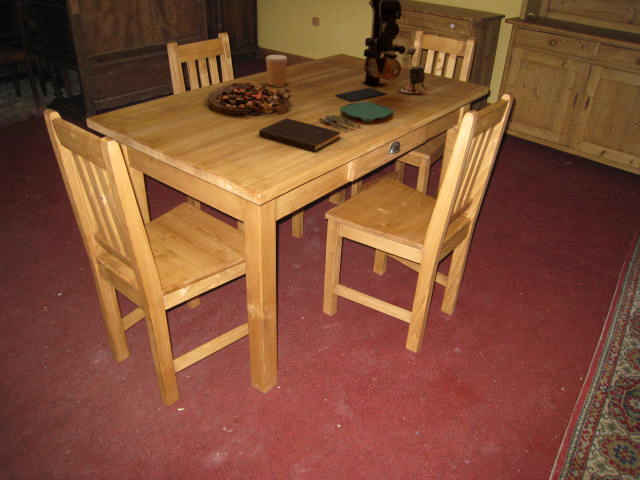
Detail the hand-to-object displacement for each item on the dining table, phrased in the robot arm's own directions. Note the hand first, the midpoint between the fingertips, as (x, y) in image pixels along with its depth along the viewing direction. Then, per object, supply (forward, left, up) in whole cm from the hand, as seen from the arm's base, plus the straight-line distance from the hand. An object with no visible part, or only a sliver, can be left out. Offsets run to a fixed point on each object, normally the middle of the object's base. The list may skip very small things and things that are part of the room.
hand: (382, 73), depth 211 cm
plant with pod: (-20, 0, -12) cm, 23 cm away
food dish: (+49, -26, -12) cm, 56 cm away
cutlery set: (+24, +11, -12) cm, 29 cm away
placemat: (+2, -10, -11) cm, 15 cm away
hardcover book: (+55, +15, -12) cm, 58 cm away
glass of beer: (+23, -43, -12) cm, 50 cm away
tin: (0, 0, -2) cm, 2 cm away
